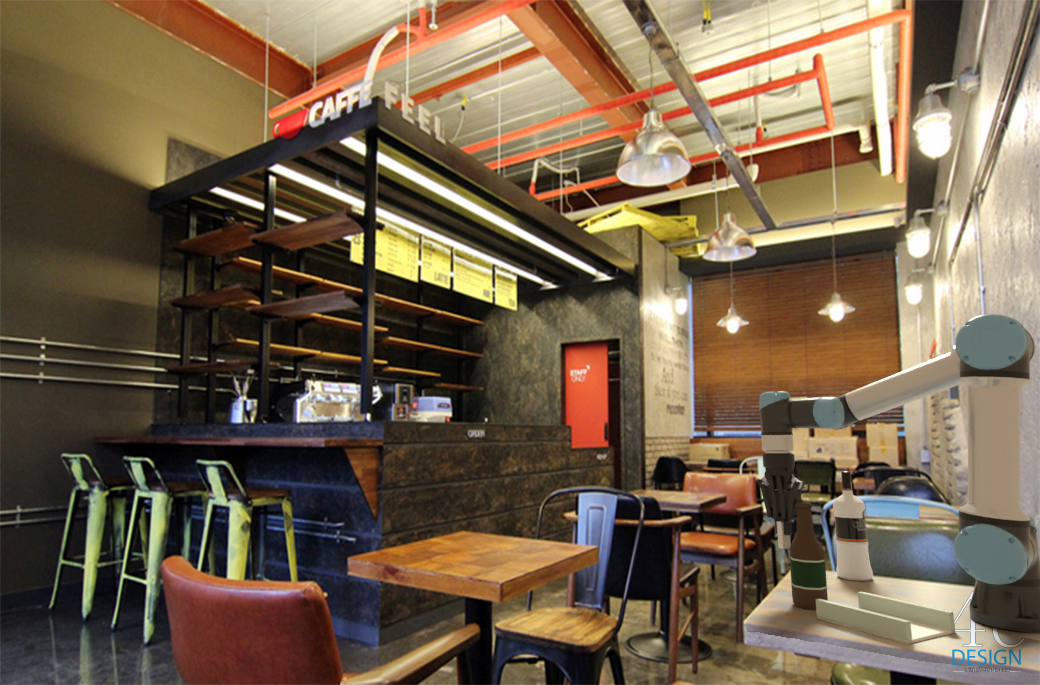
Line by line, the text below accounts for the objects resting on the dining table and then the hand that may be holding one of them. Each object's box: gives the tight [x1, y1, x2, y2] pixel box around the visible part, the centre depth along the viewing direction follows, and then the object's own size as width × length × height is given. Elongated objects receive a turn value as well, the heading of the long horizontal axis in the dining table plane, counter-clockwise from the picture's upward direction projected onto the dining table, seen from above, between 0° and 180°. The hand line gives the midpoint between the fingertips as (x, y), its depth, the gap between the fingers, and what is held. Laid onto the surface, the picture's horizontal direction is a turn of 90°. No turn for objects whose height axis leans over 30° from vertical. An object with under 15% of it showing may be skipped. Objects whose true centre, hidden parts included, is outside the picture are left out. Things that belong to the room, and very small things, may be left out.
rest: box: [816, 591, 956, 645], centre depth 133 cm, size 20×16×4 cm
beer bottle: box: [789, 501, 829, 611], centre depth 150 cm, size 8×8×24 cm
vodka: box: [832, 470, 874, 582], centre depth 181 cm, size 9×9×30 cm
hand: (784, 548), depth 156 cm, fingers closed
